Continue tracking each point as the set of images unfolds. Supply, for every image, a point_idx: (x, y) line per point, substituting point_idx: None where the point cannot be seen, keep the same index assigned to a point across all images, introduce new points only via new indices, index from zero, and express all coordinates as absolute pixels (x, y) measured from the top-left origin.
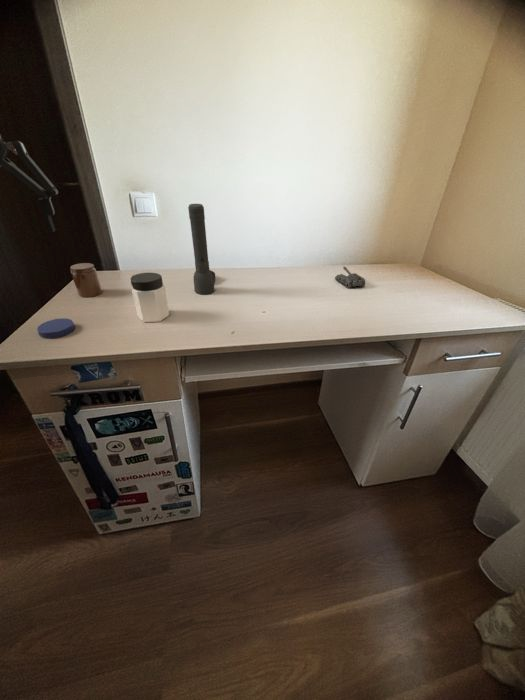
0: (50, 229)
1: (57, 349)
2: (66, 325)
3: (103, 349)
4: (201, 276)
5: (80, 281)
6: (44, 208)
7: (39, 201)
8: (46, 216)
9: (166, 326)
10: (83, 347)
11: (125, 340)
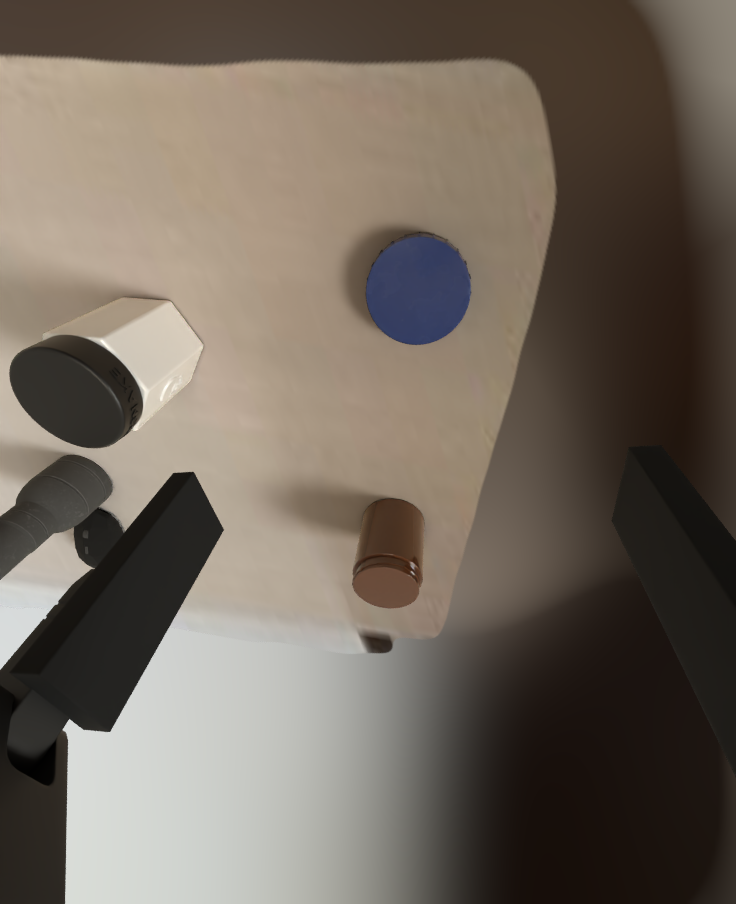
0: (172, 483)
1: (379, 137)
2: (380, 285)
3: (223, 106)
4: (37, 492)
5: (395, 535)
6: (71, 598)
7: (42, 654)
8: (117, 547)
9: (89, 258)
10: (297, 137)
11: (177, 171)
